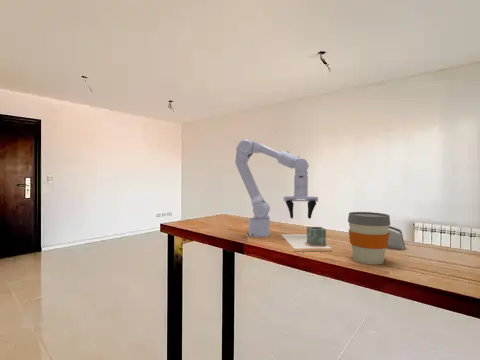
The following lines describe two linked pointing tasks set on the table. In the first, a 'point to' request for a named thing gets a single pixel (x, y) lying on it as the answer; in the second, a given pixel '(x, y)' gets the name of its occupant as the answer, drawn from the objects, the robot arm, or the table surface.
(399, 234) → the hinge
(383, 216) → the reusable coffee cup
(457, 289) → the table surface
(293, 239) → the post board
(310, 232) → the collar
